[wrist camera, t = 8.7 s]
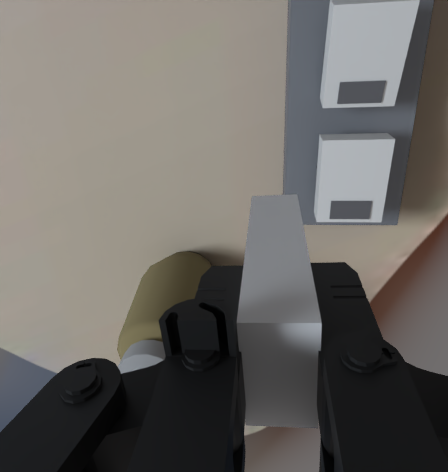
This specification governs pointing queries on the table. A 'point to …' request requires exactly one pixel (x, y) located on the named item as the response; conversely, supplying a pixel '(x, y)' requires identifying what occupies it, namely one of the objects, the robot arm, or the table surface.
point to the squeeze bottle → (157, 307)
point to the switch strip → (342, 119)
